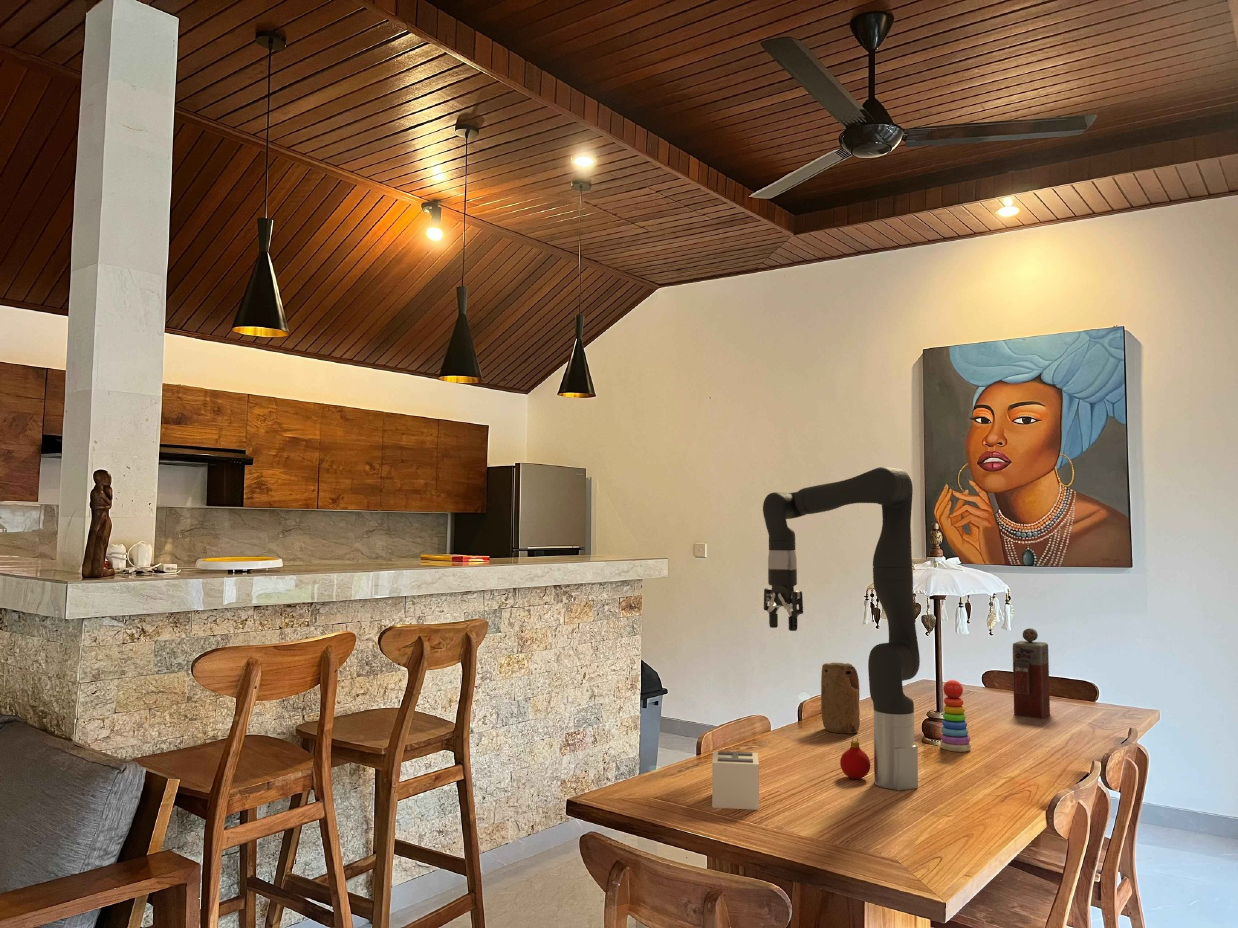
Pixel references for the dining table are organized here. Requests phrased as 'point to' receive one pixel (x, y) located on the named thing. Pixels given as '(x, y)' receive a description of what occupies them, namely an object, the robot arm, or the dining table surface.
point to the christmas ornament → (855, 762)
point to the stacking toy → (954, 720)
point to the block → (840, 698)
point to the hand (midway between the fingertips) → (783, 629)
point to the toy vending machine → (1031, 676)
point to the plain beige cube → (735, 780)
